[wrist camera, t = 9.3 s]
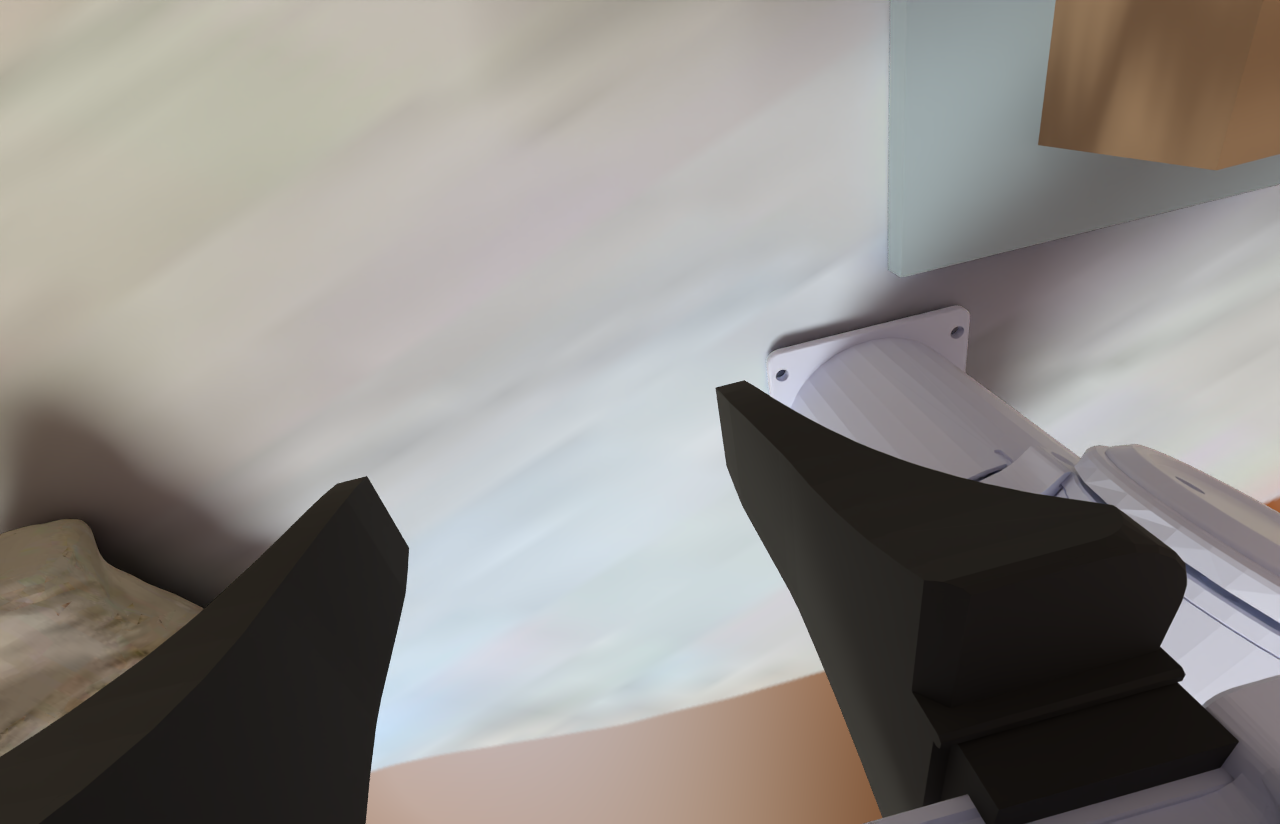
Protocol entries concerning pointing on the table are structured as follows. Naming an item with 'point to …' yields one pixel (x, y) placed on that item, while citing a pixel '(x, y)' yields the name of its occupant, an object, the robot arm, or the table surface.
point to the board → (1005, 143)
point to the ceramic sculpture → (70, 624)
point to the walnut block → (1165, 80)
